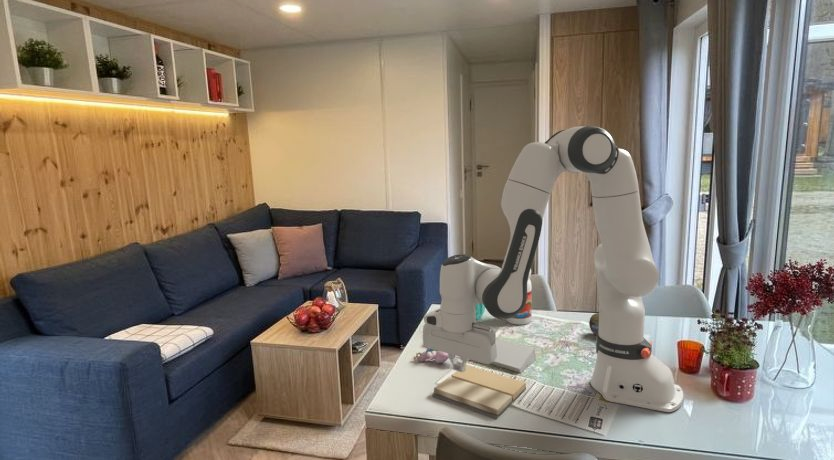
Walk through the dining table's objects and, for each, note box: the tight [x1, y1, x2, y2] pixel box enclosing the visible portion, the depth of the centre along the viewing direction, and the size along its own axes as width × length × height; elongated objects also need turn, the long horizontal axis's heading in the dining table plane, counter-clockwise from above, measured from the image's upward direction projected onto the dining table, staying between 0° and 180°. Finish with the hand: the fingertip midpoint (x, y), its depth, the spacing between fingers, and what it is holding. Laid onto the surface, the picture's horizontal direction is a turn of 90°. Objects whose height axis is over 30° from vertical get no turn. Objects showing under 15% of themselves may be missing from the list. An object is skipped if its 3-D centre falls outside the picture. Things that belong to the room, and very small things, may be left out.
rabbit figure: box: [413, 348, 461, 364], centre depth 148 cm, size 6×6×15 cm
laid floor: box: [432, 364, 527, 420], centre depth 129 cm, size 19×17×2 cm
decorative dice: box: [476, 303, 486, 321], centre depth 183 cm, size 8×8×8 cm
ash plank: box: [433, 376, 512, 415], centre depth 126 cm, size 19×8×2 cm, turn 53°
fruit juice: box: [505, 268, 533, 326], centre depth 176 cm, size 9×9×28 cm
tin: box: [588, 312, 599, 337], centre depth 159 cm, size 15×3×8 cm, turn 40°
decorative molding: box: [489, 337, 537, 374], centre depth 153 cm, size 34×5×10 cm
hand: (459, 370), depth 123 cm, fingers closed
